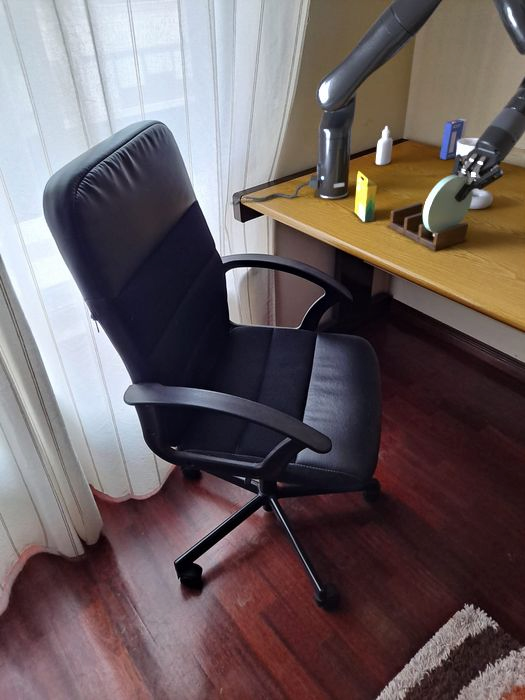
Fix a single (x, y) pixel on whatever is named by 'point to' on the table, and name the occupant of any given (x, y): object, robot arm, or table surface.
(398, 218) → the rack
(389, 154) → the eye dropper bottle
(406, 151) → the table surface
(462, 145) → the mug
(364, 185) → the crayon box
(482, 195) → the donut
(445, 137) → the walkman
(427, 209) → the plate
